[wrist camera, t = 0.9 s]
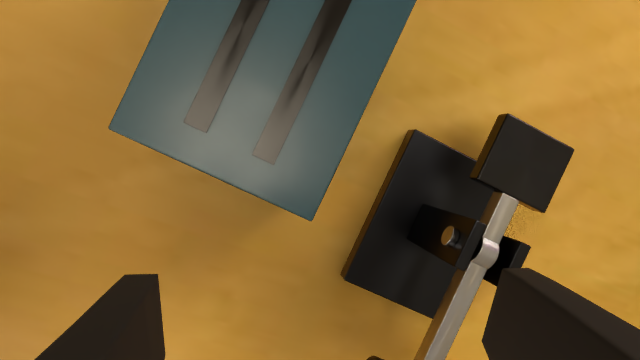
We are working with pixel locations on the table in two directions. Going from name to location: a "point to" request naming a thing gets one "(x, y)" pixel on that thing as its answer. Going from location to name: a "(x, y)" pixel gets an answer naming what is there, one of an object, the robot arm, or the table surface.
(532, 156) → the lever
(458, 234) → the bracket
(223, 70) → the toaster
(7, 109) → the table surface
